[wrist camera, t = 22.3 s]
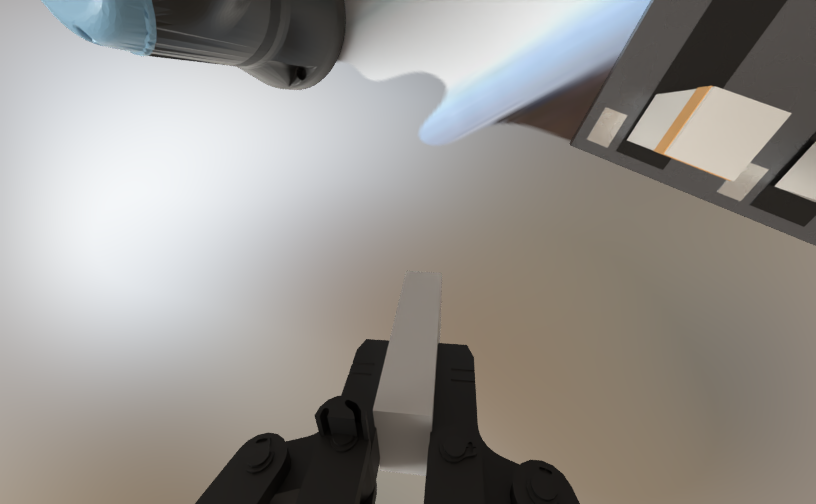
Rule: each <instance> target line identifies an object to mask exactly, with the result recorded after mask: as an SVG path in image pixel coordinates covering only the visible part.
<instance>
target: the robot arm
mask: <svg viewBox="0 0 816 504" xmlns="http://www.w3.org/2000/svg"><path fill="white" fill-rule="evenodd" d="M41 1H42V2H43V3H44V4H45V6H46V7H47V8H48V9H49V11H50V12H51V13H52V14H53V15H54V16H55V17H56V18H57V19H58V20H59V21H60V22H61V23H62V24H63V25H65V26H66V27H67V28H68V29H69V30H71V31H72V32H73V33H75V34H76V35H78V36H80V37H81V38H83V39H85V40H87V41H89V42H92V43H94V44H97V45H101V46H105V47H110V48H115V49H120V50H125V51H130V52H131V53H133V54H136V55H140V56H155V57H162V58H171V59H180V60H189V61H197V62H205V63H214V64H223V65H230V66H237V67H238V68H240V69H242V70H244V71H245V72H247V73H248V74H250V75H252V76H253V77H255V78H257V79H258V80H260V81H262V82H263V83H265V84H267V85H270V86H272V87H276V88H280V89H290V90H302V89H306V88H309V87H311V86H314V85H316V84H317V83H318V82H320V81H321V80H322V79H323V78H325V77H326V75H327V74H328V73H329V72H330V71H331V69H332V68H333V66H334V64H335V62H336V61H337V58H338V56H339V53H340V51H341V47H342V44H343V39H344V33H345V6H344V0H41ZM441 288H442V273H437V272H413V271H406V274H405V278H404V282H403V287H402V291H401V295H400V299H399V303H398V307H397V311H396V316H395V320H394V324H393V329H392V332H391V336H390V341H386V340H371V339H366V340H365V341H364V343H363V344H362V345H361V346H360V347H359V348H358V349H357V352H356V354H355V357H354V360H353V364H352V366H351V369H350V372H349V375H348V378H347V380H346V383H345V386H344V389H343V392H342V395H341V396H337V397H334V398H332V399H329V400H328V401H326V402H325V403H324V404H323V405H322V406H320V408H319V409H318V411H317V413H316V414H315V419H316V423H317V426H318V430H319V432H317V433H316V434H314V435H311V436H308V437H304V438H300V439H296V440H291V441H286V442H285V441H284V439H283V438H282V437H281V436H279V435H278V434H274V433H265V434H261V435H257V436H255V437H254V438H252V439H250V440H248V441H247V442H246V443H245V444H244V445H243V446H242V447H241V448H240V449H239V450H238V451H237V452H236V454H235V455H234V456H233V458H232V459H231V460H230V461H229V462H228V464H227V465H226V466H225V467H224V468H223V470H222V471H221V472H220V474H219V475H218V476H217V477H216V478H215V480H214V481H213V482H212V483H211V485H210V486H209V487H208V488H207V489H206V491H205V492H204V493H203V494H202V496H201V497H200V498H199V499H198V501H197V502H196V503H195V504H375V500H376V495H377V483H376V478H377V472H378V467H379V464H380V471H389V472H396V473H405V474H414V475H423V476H426V483H425V496H424V504H580V503H579V501H578V499H577V497H576V495H575V493H574V491H573V489H572V487H571V486H570V484H569V482H568V481H567V480H566V478H565V476H564V475H563V474H562V473H561V472H560V471H559V470H557V469H556V468H555V467H554V466H553V465H550V464H548V463H546V462H543V461H539V460H529V461H526V462H524V463H521V464H520V465H519V464H517V463H515V462H513V461H510V460H508V459H506V458H504V457H502V456H500V455H498V454H496V453H495V452H493V451H492V450H491V449H490V448H489V447H488V446H487V445H486V444H485V442H484V441H483V440H482V438H481V436H480V433H479V430H478V423H477V406H476V389H475V373H474V357H473V355H472V353H471V351H470V350H469V348H468V346H467V345H458V344H443V343H440V328H441V292H442V290H441Z"/></svg>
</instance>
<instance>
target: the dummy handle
mask: <svg viewBox="0 0 816 504" xmlns="http://www.w3.org/2000/svg"><path fill="white" fill-rule="evenodd" d="M775 187H777V188H780V189H782V190H785V191H788V192H790V193H793V194H795V195H798V196H800V197H803V198H806V199H808V200H811V201H813V202H816V142H815V143H814V144H813V145H812V146H811V147H810V148H809V149H808V150H807V151H806V153H805V154H804V155H803V156H802V157H801V158H800V159H799V160H798V161H797V162H796V163H795V165H794V166H793V167H792V168H791V169H790V170H789V171H788V172H787V173H786V174H785V175H784V176H783V178H782V179H781V180H780V181H779V182H778V183H777V184H776V185H775Z"/></svg>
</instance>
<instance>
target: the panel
mask: <svg viewBox="0 0 816 504" xmlns="http://www.w3.org/2000/svg"><path fill="white" fill-rule="evenodd" d="M705 86H716V87H719V88H722V89H724V90H727V91H730V92H733V93H736V94H739V95H741V96H744V97H747V98H750V99H753V100H756V101H758V102H761V103H764V104H767V105H770V106H773V107H775V108H778V109H781V110H784V111H787V112H790V113H792V114H791V115H790V116H789V117H788V119H787V120H786V121H785V122H784V123H783V124H782V126H781V127H780V128H779V129H778V130H777V131H776V133H775V134H774V135H773V136H772V137H771V139H770V140H769V141H768V142H767V143H766V144H765V146H764V147H763V148H762V149H761V150H760V151H759V153H758V154H757V155H756V156H755V157H754V158H753V160H752V161H751V162H750V163H749V164H748V165H747V167H746V168H745V169H744V170H743V171H742V173H741V174H740V175H739V176H738V177H737V178H736V180H735V181H729V180H726V179H723V178H721V177H718V176H716V175H713V174H710V173H708V172H705V171H703V170H700V169H698V168H695V167H693V166H690V165H688V164H685V163H683V162H680V161H678V160H675V159H673V158H670V157H668V156H665V155H662V154H660V153H657V152H655V151H653V150H650V149H648V148H645V147H643V146H640V145H637V144H635V143H632V142H630V141H627V139H628V137H629V136H630V134H631V133H632V131H633V130H634V128H635V126H636V125H637V123H638V122H639V120H640V119H641V117H642V116H643V114H644V113H645V111H646V109H647V108H648V106H649V105H650V103H651V102H652V100H653V99H654V97H655V96H656V94H663V93H670V92H678V91H685V90H692V89H697V88H698V87H705ZM815 142H816V0H651V1H650V3H649V5H648V6H647V8H646V10H645V12H644V13H643V15H642V17H641V19H640V20H639V22H638V24H637V26H636V27H635V29H634V31H633V33H632V34H631V36H630V38H629V40H628V41H627V43H626V45H625V47H624V49H623V50H622V52H621V54H620V56H619V57H618V59H617V61H616V63H615V64H614V66H613V68H612V70H611V71H610V73H609V75H608V77H607V78H606V80H605V82H604V84H603V85H602V87H601V89H600V91H599V93H598V94H597V96H596V98H595V100H594V101H593V103H592V105H591V107H590V108H589V110H588V112H587V114H586V115H585V117H584V119H583V121H582V122H581V124H580V126H579V128H578V129H577V131H576V133H575V135H574V137H573V138H572V140H571V142H570V145H571V146H573V147H576V148H578V149H581V150H583V151H586V152H589V153H591V154H593V155H595V156H598V157H600V158H603V159H605V160H608V161H610V162H613V163H615V164H617V165H620V166H622V167H625V168H627V169H630V170H632V171H635V172H637V173H639V174H642V175H644V176H647V177H649V178H652V179H654V180H657V181H659V182H661V183H664V184H666V185H669V186H671V187H674V188H676V189H678V190H681V191H683V192H686V193H688V194H691V195H693V196H696V197H698V198H700V199H703V200H706V201H708V202H711V203H713V204H715V205H718V206H720V207H722V208H725V209H727V210H730V211H732V212H735V213H737V214H740V215H742V216H744V217H747V218H750V219H752V220H754V221H757V222H760V223H762V224H764V225H766V226H769V227H771V228H774V229H776V230H779V231H781V232H784V233H786V234H788V235H791V236H794V237H796V238H798V239H801V240H803V241H805V242H808V243H810V244H813V245H816V202H813V201H811V200H808V199H806V198H803V197H800V196H798V195H795V194H793V193H790V192H788V191H785V190H782V189H780V188H777V187H775V185H776V184H777V183H778V182H779V181H780V180H781V179H782V178H783V176H784V175H785V174H786V173H787V172H788V171H789V170H790V169H791V168H792V167H793V166H794V165H795V163H796V162H797V161H798V160H799V159H800V158H801V157H802V156H803V155H804V154H805V153H806V151H807V150H808V149H809V148H810V147H811V146H812V145H813V144H814V143H815Z"/></svg>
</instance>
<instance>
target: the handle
mask: <svg viewBox="0 0 816 504" xmlns="http://www.w3.org/2000/svg"><path fill="white" fill-rule="evenodd" d="M791 114H792V113H790V112H787V111H784V110H781V109H778V108H775V107H773V106H770V105H767V104H764V103H761V102H758V101H756V100H753V99H750V98H747V97H744V96H741V95H739V94H736V93H733V92H730V91H727V90H724V89H722V88H719V87H716V86H705V87H698V88H697V89H692V90H685V91H678V92H670V93H663V94H656V96H655V97H654V99H653V100H652V102H651V103H650V105H649V106H648V108H647V109H646V111H645V113H644V114H643V116H642V117H641V119H640V120H639V122H638V123H637V125H636V126H635V128H634V130H633V131H632V133H631V134H630V136H629V137H628V139H627V141H630V142H632V143H635V144H637V145H640V146H643V147H645V148H648V149H650V150H653V151H655V152H657V153H660V154H662V155H665V156H668V157H670V158H673V159H675V160H678V161H680V162H683V163H685V164H688V165H690V166H693V167H695V168H698V169H700V170H703V171H705V172H708V173H710V174H713V175H716V176H718V177H721V178H723V179H726V180H729V181H735V180H736V178H737V177H738V176H739V175H740V174H741V173H742V171H743V170H744V169H745V168H746V167H747V165H748V164H749V163H750V162H751V161H752V160H753V158H754V157H755V156H756V155H757V154H758V153H759V151H760V150H761V149H762V148H763V147H764V146H765V144H766V143H767V142H768V141H769V140H770V139H771V137H772V136H773V135H774V134H775V133H776V131H777V130H778V129H779V128H780V127H781V126H782V124H783V123H784V122H785V121H786V120H787V119H788V117H789V116H790V115H791Z"/></svg>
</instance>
